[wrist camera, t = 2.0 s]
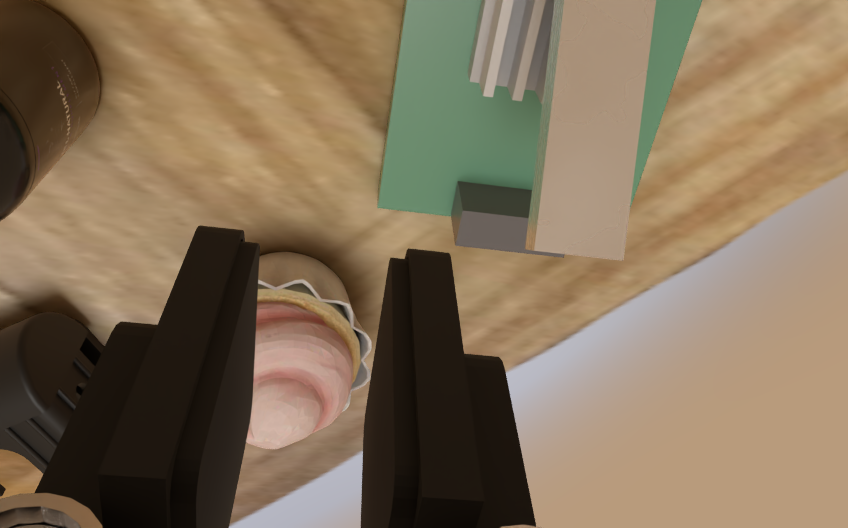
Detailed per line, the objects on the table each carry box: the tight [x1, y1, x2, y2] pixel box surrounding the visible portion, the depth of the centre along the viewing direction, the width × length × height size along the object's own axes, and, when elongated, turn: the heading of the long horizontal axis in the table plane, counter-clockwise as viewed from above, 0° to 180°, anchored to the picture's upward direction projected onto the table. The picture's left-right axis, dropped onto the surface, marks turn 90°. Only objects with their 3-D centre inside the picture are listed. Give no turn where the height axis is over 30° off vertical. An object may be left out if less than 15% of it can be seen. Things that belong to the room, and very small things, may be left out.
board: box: [378, 0, 702, 258], centre depth 30 cm, size 20×12×7 cm, turn 171°
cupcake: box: [246, 252, 371, 449], centre depth 36 cm, size 9×9×10 cm
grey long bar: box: [525, 0, 656, 261], centre depth 25 cm, size 15×3×2 cm
